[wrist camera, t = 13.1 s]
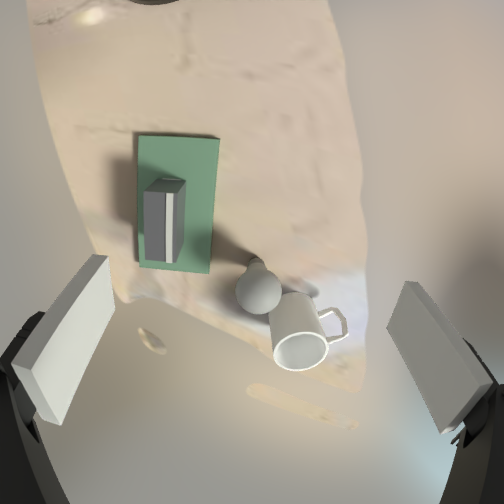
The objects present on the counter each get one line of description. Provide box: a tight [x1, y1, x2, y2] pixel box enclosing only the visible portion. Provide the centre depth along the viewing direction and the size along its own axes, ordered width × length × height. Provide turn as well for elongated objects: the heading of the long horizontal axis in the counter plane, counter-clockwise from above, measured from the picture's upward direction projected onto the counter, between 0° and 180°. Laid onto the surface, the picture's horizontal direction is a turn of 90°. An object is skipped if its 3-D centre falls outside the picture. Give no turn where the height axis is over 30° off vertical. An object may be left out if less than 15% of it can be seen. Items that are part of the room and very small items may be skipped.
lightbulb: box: [235, 258, 282, 314], centre depth 43 cm, size 6×6×11 cm
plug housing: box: [143, 179, 186, 263], centre depth 40 cm, size 9×4×6 cm, turn 173°
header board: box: [137, 135, 220, 274], centre depth 42 cm, size 20×11×5 cm, turn 173°
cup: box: [268, 292, 348, 371], centre depth 48 cm, size 8×12×10 cm
